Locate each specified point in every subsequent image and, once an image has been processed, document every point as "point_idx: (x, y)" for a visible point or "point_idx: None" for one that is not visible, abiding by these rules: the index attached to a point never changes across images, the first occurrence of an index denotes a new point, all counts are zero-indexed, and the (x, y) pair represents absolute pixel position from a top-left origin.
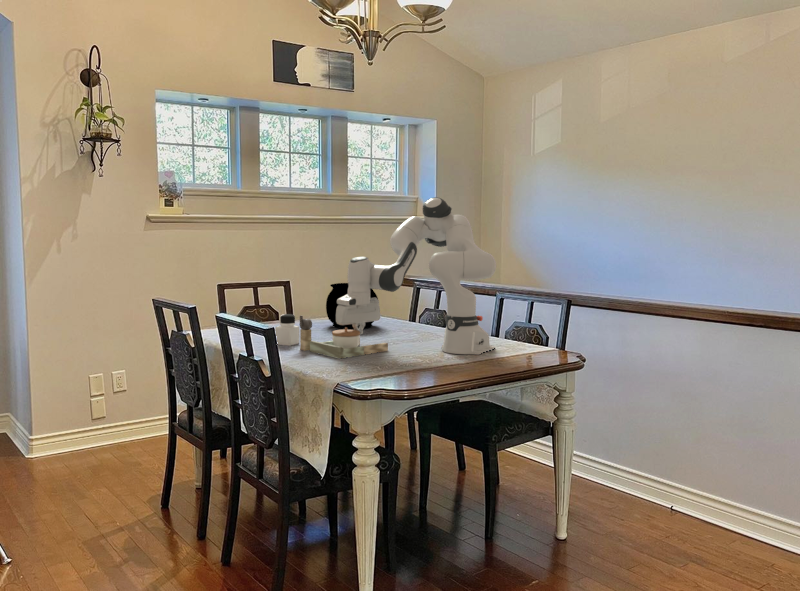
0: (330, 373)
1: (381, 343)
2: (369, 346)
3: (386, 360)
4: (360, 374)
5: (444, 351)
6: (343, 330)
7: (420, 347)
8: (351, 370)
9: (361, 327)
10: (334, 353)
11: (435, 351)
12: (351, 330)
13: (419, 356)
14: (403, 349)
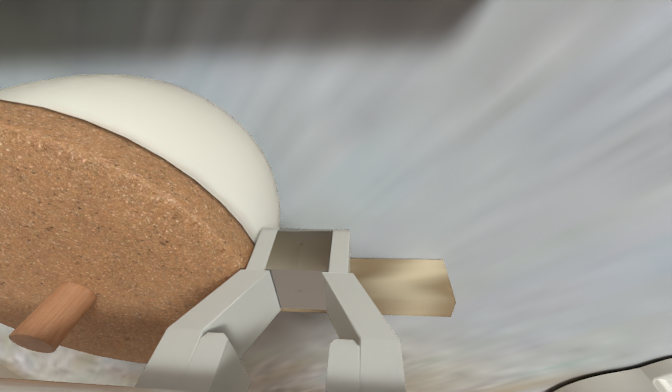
0: (39, 356)
1: (409, 305)
2: (289, 308)
3: (281, 354)
4: (126, 385)
5: (561, 388)
6: (44, 243)
7: (650, 307)
8: (111, 363)
9: (337, 328)
10: None
11: (565, 366)
12: (166, 293)
13: (427, 372)
14: (533, 293)
